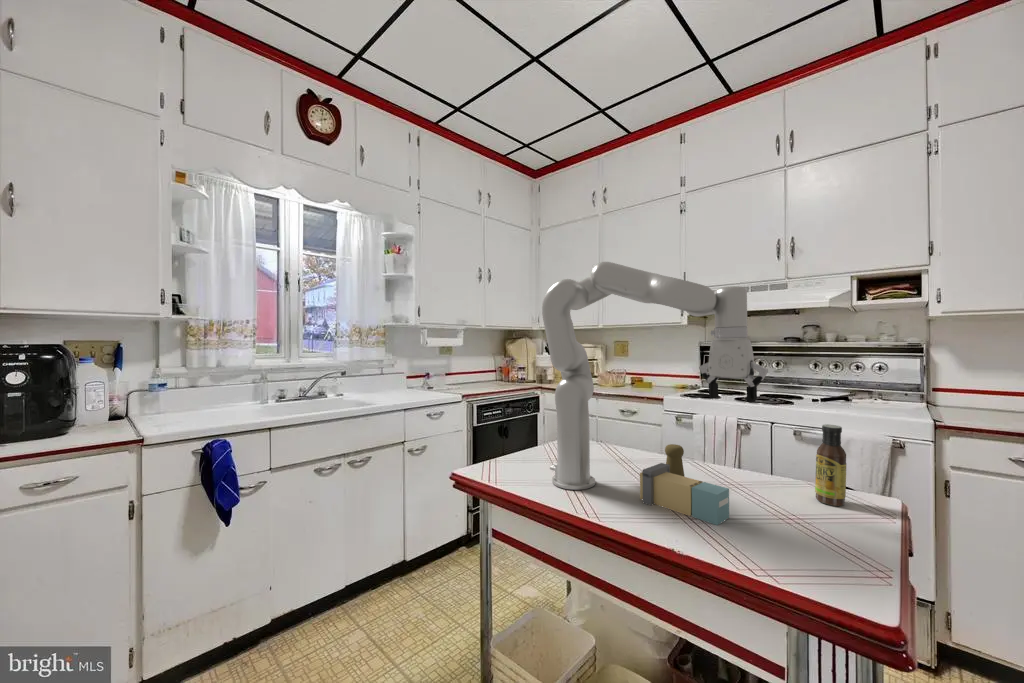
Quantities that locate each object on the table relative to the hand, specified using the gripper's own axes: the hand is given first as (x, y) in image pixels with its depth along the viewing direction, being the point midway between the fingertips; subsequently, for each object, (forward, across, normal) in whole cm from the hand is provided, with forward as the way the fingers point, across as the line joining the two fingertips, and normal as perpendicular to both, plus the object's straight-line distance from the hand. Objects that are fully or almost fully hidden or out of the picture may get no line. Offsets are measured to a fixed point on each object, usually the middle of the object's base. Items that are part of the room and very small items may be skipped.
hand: (731, 399), depth 110 cm
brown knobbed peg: (+26, -17, 0) cm, 32 cm away
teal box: (+26, +2, -14) cm, 30 cm away
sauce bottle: (+27, +15, +18) cm, 36 cm away
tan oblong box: (+26, -8, -15) cm, 31 cm away
